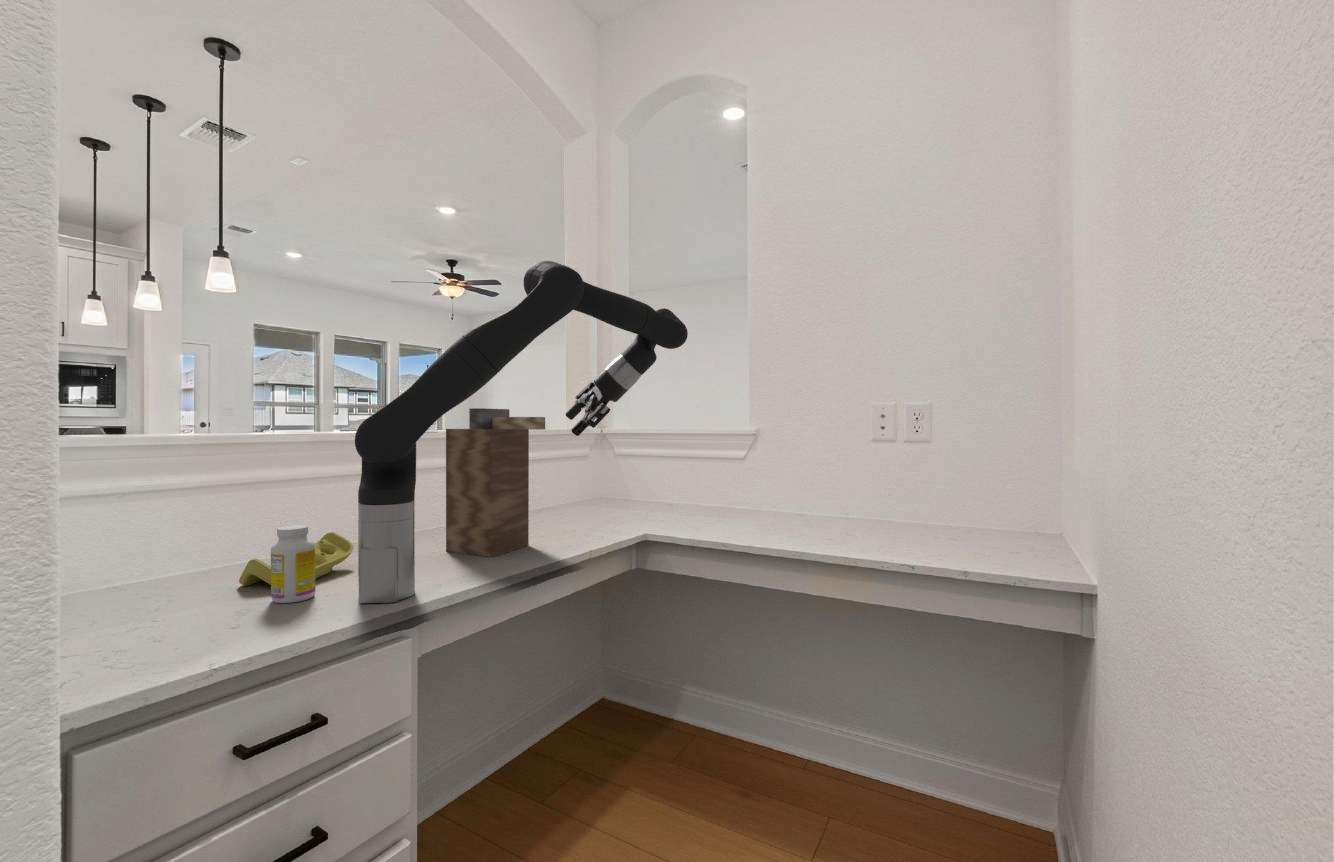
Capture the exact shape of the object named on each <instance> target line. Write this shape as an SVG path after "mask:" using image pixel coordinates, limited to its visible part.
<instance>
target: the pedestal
mask: <svg viewBox="0 0 1334 862" xmlns="http://www.w3.org/2000/svg"><path fill="white" fill-rule="evenodd" d="M529 435H530V430H523V429H469V428H446V429H445V548H446V549H445V551H446V553H447V552H448V553H454V554H463V555H470V556H479V557H486V556H487V557H488V558H494V557H497V556H500V555H503V554H506V553H509V552H508V551H510V552H513V551H515V549H516V550H518V549H522V548H525V547H528V546H527V545H529V534H530V533H529V529H530V528H529V521H530V520H529V517H530V516H529V511H530V510H529V508H530V506H529V505H530V504H529V502H530V501H529V499H530V498H529V497H530V496H529V495H530V491H529V488H530V486H529V481H530V480H529V479H530V478H529V477H530V476H529V472H530V471H529V469H530V468H529V467H530V464H529V460H530V456H529V451H530V450H529V449H530V448H529V446H530V445H529V444H530V443H529V442H530V441H529V439H530V438H529ZM521 547H522V548H521ZM493 556H494V557H493ZM487 557H486V558H487Z"/></svg>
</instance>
